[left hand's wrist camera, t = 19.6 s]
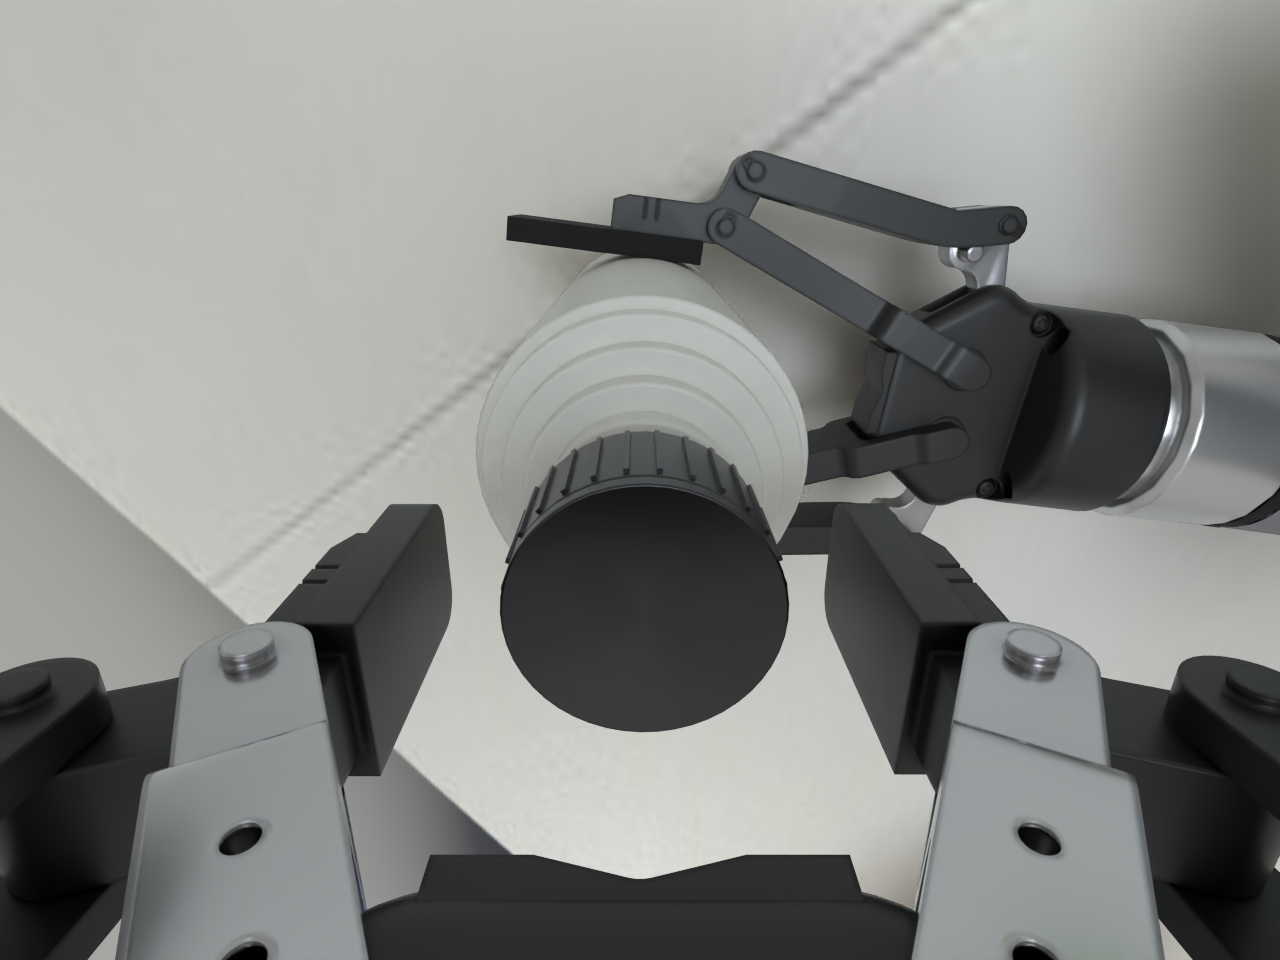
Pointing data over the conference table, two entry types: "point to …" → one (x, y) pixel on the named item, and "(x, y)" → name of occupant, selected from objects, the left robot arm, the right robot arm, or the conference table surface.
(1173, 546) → the conference table surface
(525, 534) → the cap
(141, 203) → the conference table surface
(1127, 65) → the conference table surface
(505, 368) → the bottle
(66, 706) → the left robot arm
